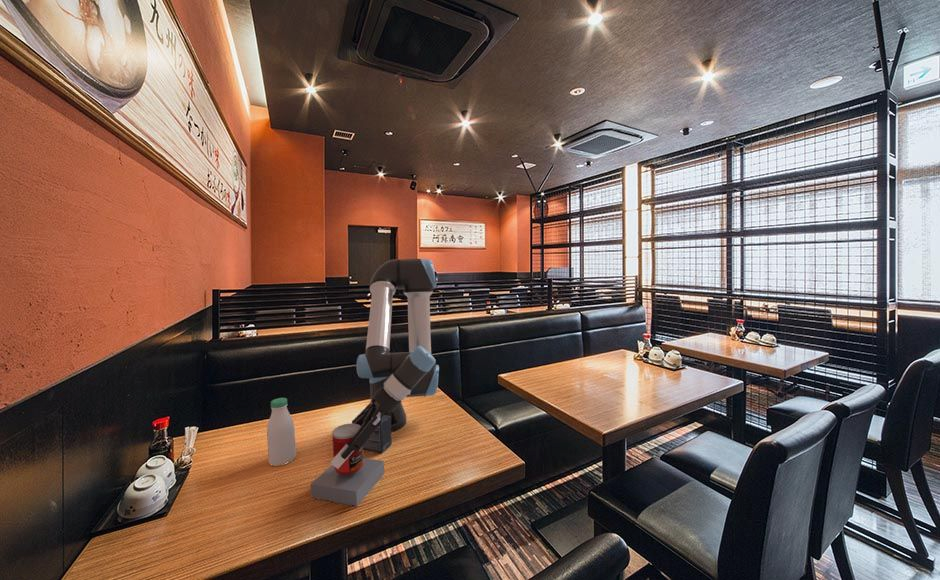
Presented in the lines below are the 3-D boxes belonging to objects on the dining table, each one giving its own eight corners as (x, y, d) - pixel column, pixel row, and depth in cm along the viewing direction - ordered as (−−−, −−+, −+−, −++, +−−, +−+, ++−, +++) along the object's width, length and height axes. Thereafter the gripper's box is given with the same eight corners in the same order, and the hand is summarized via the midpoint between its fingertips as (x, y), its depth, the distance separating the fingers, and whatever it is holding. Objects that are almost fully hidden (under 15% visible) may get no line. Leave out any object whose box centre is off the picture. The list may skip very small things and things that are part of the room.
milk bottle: (301, 456, 110) (297, 397, 109) (279, 469, 103) (275, 406, 102) (285, 451, 114) (282, 394, 112) (263, 463, 107) (259, 402, 105)
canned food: (354, 476, 90) (352, 437, 90) (328, 473, 92) (325, 435, 91) (368, 460, 98) (366, 424, 97) (344, 457, 99) (342, 422, 99)
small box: (393, 444, 117) (391, 415, 116) (382, 454, 111) (381, 423, 110) (367, 439, 120) (366, 411, 120) (355, 449, 114) (354, 419, 113)
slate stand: (343, 467, 104) (343, 454, 103) (384, 473, 100) (383, 460, 100) (311, 497, 90) (310, 483, 90) (357, 506, 87) (356, 491, 86)
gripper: (405, 415, 88) (343, 487, 85) (398, 388, 108) (348, 445, 104) (384, 398, 86) (319, 471, 83) (380, 374, 106) (328, 431, 103)
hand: (335, 456), depth 94 cm, fingers closed on canned food, 8 cm apart
